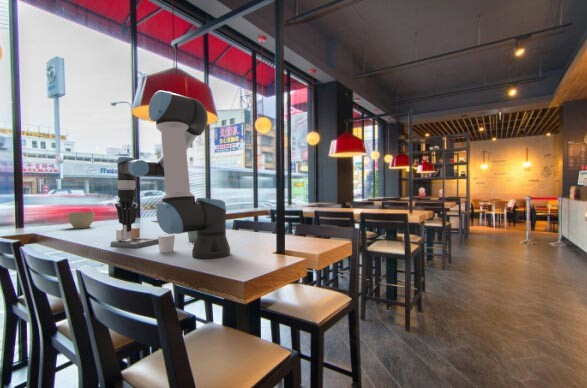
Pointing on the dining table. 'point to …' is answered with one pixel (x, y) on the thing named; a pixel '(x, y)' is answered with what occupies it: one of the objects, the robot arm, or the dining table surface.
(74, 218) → the planter bowl
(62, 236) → the dining table surface
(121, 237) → the cylinder
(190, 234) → the coffee cup
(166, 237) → the white tapered cup
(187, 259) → the dining table surface
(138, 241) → the dark grey tray
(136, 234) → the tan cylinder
